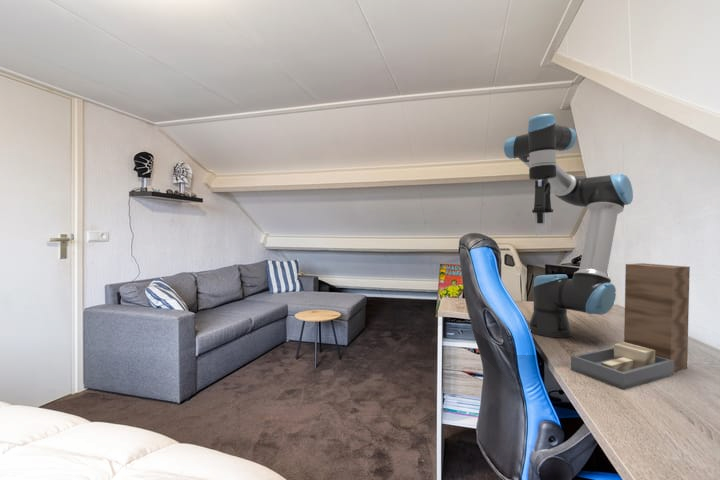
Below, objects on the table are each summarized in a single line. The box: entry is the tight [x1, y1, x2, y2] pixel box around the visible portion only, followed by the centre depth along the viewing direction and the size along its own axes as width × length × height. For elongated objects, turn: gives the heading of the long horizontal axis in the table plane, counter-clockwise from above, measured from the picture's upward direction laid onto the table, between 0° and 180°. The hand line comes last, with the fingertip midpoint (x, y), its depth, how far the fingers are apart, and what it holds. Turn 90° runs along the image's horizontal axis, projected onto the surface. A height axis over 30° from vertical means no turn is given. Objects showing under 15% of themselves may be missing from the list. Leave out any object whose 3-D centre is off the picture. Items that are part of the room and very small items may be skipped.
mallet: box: [601, 341, 655, 372], centre depth 99 cm, size 16×8×6 cm, turn 114°
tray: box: [570, 346, 675, 391], centre depth 99 cm, size 23×14×4 cm, turn 114°
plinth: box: [623, 262, 691, 373], centre depth 105 cm, size 9×12×30 cm
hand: (543, 233), depth 110 cm, fingers open, 13 cm apart
